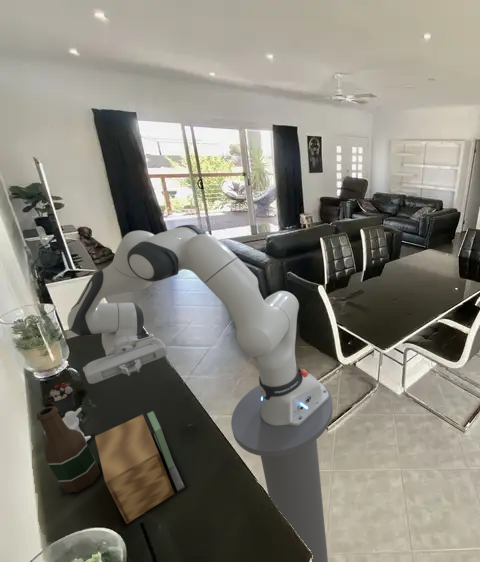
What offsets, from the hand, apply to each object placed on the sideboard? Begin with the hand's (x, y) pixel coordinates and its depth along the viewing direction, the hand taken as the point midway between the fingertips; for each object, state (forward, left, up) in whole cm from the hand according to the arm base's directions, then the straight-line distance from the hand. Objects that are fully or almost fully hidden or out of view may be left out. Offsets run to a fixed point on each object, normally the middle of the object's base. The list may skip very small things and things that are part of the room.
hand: (133, 372), depth 94 cm
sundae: (+18, -19, -20) cm, 33 cm away
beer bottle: (+18, +9, -20) cm, 28 cm away
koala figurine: (+18, -5, -20) cm, 27 cm away
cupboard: (+5, +18, -20) cm, 27 cm away
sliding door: (0, +18, -19) cm, 26 cm away
